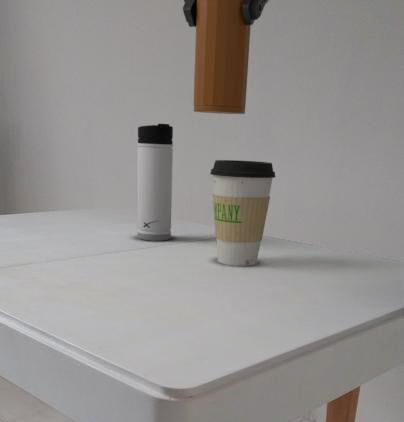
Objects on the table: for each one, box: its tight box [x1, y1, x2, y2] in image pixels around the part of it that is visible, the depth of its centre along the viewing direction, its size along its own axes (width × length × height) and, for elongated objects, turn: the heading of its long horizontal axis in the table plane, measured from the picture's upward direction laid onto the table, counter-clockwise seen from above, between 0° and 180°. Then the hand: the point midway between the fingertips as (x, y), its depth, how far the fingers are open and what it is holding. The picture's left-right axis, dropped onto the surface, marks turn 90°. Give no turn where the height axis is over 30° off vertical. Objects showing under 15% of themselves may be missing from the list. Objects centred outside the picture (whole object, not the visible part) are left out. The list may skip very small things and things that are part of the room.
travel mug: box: [137, 123, 174, 242], centre depth 103 cm, size 6×7×20 cm
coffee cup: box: [209, 159, 276, 267], centre depth 87 cm, size 10×10×15 cm
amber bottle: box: [193, 0, 252, 115], centre depth 63 cm, size 6×6×18 cm
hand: (217, 18), depth 61 cm, fingers closed on amber bottle, 6 cm apart
